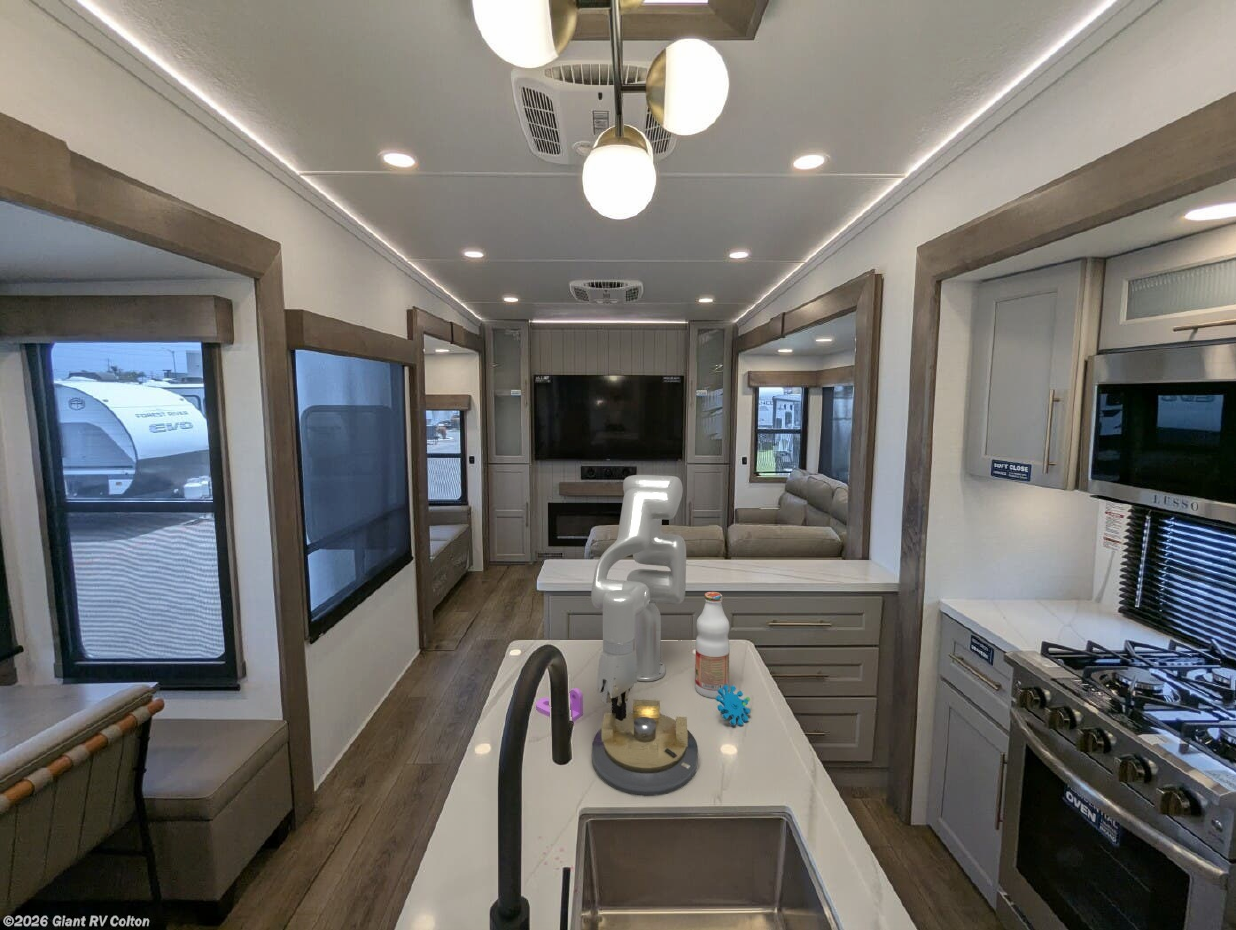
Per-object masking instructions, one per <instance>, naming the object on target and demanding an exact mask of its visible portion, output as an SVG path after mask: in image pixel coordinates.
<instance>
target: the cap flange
mask: <svg viewBox="0 0 1236 930" xmlns="http://www.w3.org/2000/svg"><path fill="white" fill-rule="evenodd" d="M687 732H688V741H687V750H686V754H685V756H684V757H683V759H682V760H681V761H680V762H679V763H678V764H676V765H675V766H673V767H671V768H669V769H666V770H663V771H659V772H650V773H645V772H635V771H631V770H628V769H625V768H622V767H620V766H618V765H617V764H615V763H614V762H612V761H611V760H610V759H609V758H608V756H607V755H606V753H605V751H604V748H603V742H602V727H600V728H599V729H598V731H597V732H596V734H595V735H594V738H593V739H592V745H591V751H592V752H591V759H592V760H591V762H592V766H593V769H594V771H595V773H596V774H597V775H598V777H599V778H600V779H601V780H602V781H603V782H604V783H605V784H606V785H608V786H610V787H611V788H613V789H615V790H617V791H619V792H622V793H625V794H628V795H629V794H630V795H634V796H639V797H641V796H643V797H652V796H653V797H655V796H660V795H661V796H662V795H665V794H669V793H672V792H675V791H677V790H680V789H681V788H683V787H685V786H686V785H687V784H688V783H689V782H690V781H691V780H692V779H693V778H694V776H695V774H696V772H697V769H698V764H699V762H698V761H699V760H698V759H699V749H698V747H699V746H698V743H697V740H696V738H695V737H694V735H693V734H692V733H691V731H690V730H689V729H687Z"/></svg>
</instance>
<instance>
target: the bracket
mask: <svg viewBox="0 0 1236 930" xmlns="http://www.w3.org/2000/svg"><path fill="white" fill-rule="evenodd" d="M569 693H570V710H571V717H572V721H573V723H576V721H578V720H579V719H580V718H581V717H583V716H584V694H583V692H582V691H581V689H580V688H579V687H574V688H572V689H570V690H569V692H568V694H569ZM549 697H550V696H546V697H541V698H539V699H537V701H536V703H535V709H536V712H538V713H540V714H543V715H544V716H547V717H548V718H551V717H550V709H549V707H550V706H549Z"/></svg>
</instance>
